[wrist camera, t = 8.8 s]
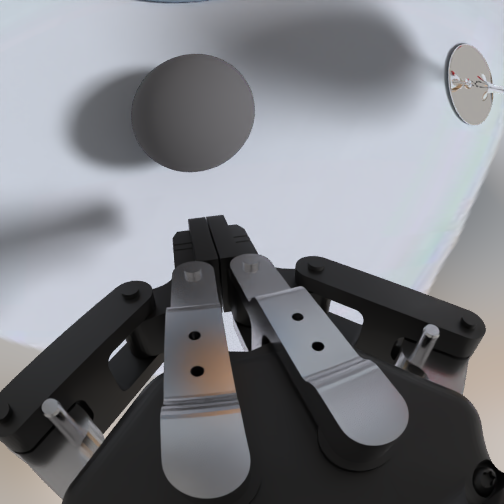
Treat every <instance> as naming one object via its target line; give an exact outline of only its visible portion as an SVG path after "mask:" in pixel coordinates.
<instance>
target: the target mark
mask: <svg viewBox="0 0 504 504" xmlns="http://www.w3.org/2000/svg"><path fill="white" fill-rule="evenodd" d="M147 1H154V2H170V3H172V2H196V1H207V0H147Z"/></svg>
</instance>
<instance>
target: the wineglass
mask: <svg viewBox="0 0 504 504" xmlns="http://www.w3.org/2000/svg"><path fill="white" fill-rule="evenodd" d="M448 86H449V91H450V96H451V99H452V103H453V105H454V107H455V110H456V112H457V113H458V115H459V116H460V117H461V119H462V120H463V121H464V122H466V123H467V124H470V125H479V124H481V123H482V122H483V121H485V119H486V118H487V116H488V114H489V112H490V110H491V107H492V102H493V93H498V94H503V95H504V87H503V86H498V85H494V84H493V81H492V76H491V72H490V69H489V67H488V64H487V62H486V60H485V58H484V57H483V55H482V54H481V53H480V52H479V51H478V50H477V49H476V48H475V47H473V46H471V45H468V44H462V45H460V46H458V47H457V48H456V49H455V50H454V51H453V53H452V55H451V58H450V61H449V66H448Z"/></svg>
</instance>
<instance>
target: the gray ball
mask: <svg viewBox="0 0 504 504" xmlns="http://www.w3.org/2000/svg"><path fill="white" fill-rule="evenodd" d="M254 116H255V106H254V99H253V95H252V91H251V89H250V87H249V85H248V83H247V82H246V80H245V78H244V77H243V76H242V74H241V73H240V72H239V71H238V70H237V69H236V68H234V67H233V66H232V65H230V64H229V63H227V62H225V61H224V60H221V59H219V58H217V57H213V56H210V55H203V54H189V55H182V56H178V57H175V58H172V59H170V60H167V61H166V62H164V63H162V64H160V65H159V66H157V67H156V68H155V69H153V70H152V71H151V72H150V73H149V74H148V75H147V76H146V78H145V79H144V80H143V81H142V83H141V85H140V86H139V88H138V90H137V92H136V95H135V97H134V100H133V104H132V113H131V118H132V127H133V131H134V134H135V137H136V139H137V141H138V143H139V145H140V146H141V148H142V149H143V150H144V151H145V153H146V154H147V155H148V156H149V157H150V158H152V159H153V160H154V161H155V162H157V163H159V164H161V165H162V166H164V167H167V168H169V169H172V170H176V171H181V172H198V171H204V170H208V169H211V168H214V167H217V166H219V165H221V164H223V163H224V162H226V161H227V160H229V159H230V158H231V157H233V156H234V155H235V154H236V153H237V152H238V151H239V150H240V149H241V147H242V146H243V145H244V143H245V142H246V140H247V138H248V137H249V134H250V132H251V129H252V126H253V122H254Z"/></svg>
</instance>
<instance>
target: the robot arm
mask: <svg viewBox="0 0 504 504" xmlns="http://www.w3.org/2000/svg"><path fill="white" fill-rule="evenodd" d="M188 224H189V230H188V231H181V232H177V233H176V234H175V236H174V237H173V250H174V263H175V269H174V271H173V273H172V279H171V280H170V281H169V282H168V283H166V284H165V285H163V286H160V287H158V288H155V289H152V287H151V286H150V285H149V284H148V283H146V282H143V281H130V282H126V283H124V284H121V285H120V286H118V287H117V288H115V289H114V290H113V291H112V292H111V293H109V294H108V295H107V296H106V297H105V298H103V299H102V300H101V301H100V302H99V303H97V304H96V305H95V306H94V307H93V308H91V309H90V310H89V311H88V312H87V313H86V314H84V315H83V316H82V317H81V318H80V319H79V320H78V321H76V322H75V323H74V324H73V325H72V326H71V327H69V328H68V329H67V330H66V331H65V332H64V333H63V334H62V335H60V336H59V337H58V338H57V339H56V340H55V341H54V342H53V343H52V344H50V345H49V346H48V347H47V348H46V349H45V350H44V351H43V352H42V353H41V354H40V355H38V356H37V357H36V358H35V359H34V360H33V361H32V362H31V363H30V364H29V365H28V366H27V367H26V368H24V369H23V370H22V371H21V372H20V373H19V374H18V375H17V376H16V377H15V378H14V379H13V380H12V381H11V382H10V383H9V384H8V385H7V386H6V387H5V388H4V389H3V390H2V391H1V392H0V441H1V442H3V443H4V444H5V445H6V446H7V447H8V449H9V450H10V451H12V452H13V453H14V454H15V455H16V456H18V457H19V458H20V459H22V460H23V461H24V462H26V463H27V464H28V465H29V466H30V467H31V468H32V469H33V470H34V472H35V473H36V474H37V475H38V476H39V477H40V478H41V479H42V480H43V481H44V482H45V483H46V484H47V485H48V486H49V487H50V488H51V489H52V490H53V491H54V492H55V493H56V494H57V495H58V496H59V497H60V498H62V499H63V502H62V504H504V473H503V472H501V471H499V470H498V469H497V468H496V467H495V466H494V464H493V463H492V461H491V459H490V457H489V454H488V452H487V449H486V445H485V442H484V437H483V431H482V425H481V420H480V417H479V414H478V412H477V410H476V409H475V407H474V406H473V404H472V403H471V402H470V401H469V400H468V399H467V398H466V397H465V396H463V390H464V385H465V380H466V373H467V367H468V361H469V359H470V357H471V356H472V354H473V353H474V351H475V349H476V348H477V346H478V344H479V343H480V341H481V339H482V337H483V336H484V334H485V331H486V328H485V324H484V322H483V321H482V319H481V318H480V317H479V316H478V315H476V314H475V313H473V312H471V311H469V310H466V309H463V308H461V307H458V306H456V305H453V304H450V303H448V302H445V301H442V300H439V299H437V298H434V297H432V296H429V295H426V294H423V293H421V292H418V291H415V290H413V289H410V288H407V287H404V286H402V285H399V284H396V283H393V282H391V281H388V280H385V279H382V278H379V277H377V276H374V275H371V274H368V273H365V272H363V271H360V270H357V269H354V268H351V267H349V266H346V265H343V264H340V263H337V262H334V261H331V260H329V259H326V258H323V257H318V256H308V257H304V258H301V259H300V260H298V261H297V263H296V267H295V269H282V268H275V267H274V265H273V264H272V263H271V261H270V260H269V259H268V258H267V257H265V256H262V255H259V254H258V253H257V251H256V249H255V247H254V246H253V244H252V242H251V241H250V238H249V237H248V235H247V233H246V231H245V229H243V228H242V227H240V226H238V225H237V224H236V225H228V224H227V222H226V220H225V218H224V216H223V215H218V216H210V217H206V219H205V217H202V218H194V219H188ZM331 300H333V301H335V302H338V303H340V304H343V305H345V306H348V307H350V308H353V309H355V310H357V311H359V312H360V313H361V314H362V316H363V319H364V321H363V325H360V324H358V323H355V322H353V321H350V320H348V319H345V318H343V317H340V316H338V315H336V314H333V313H331V312H329V307H330V302H331ZM222 306H223V310H224V312H230V311H232V314H233V326H234V329H235V331H236V334H237V336H238V338H239V340H240V343H241V345H242V347H243V349H244V352H230V351H228V346H227V341H226V335H225V329H224V323H223V317H222ZM125 339H126V341H127V343H126V344H125V345H124V346H123V347H122V348H121V349H120V350H119V351H118V353H117V354H116V355H115V356H114V357H113V358H112V359H111V360H110V361H109V362H108V360H109V357H110V355H111V353H112V352H113V351H114V350H115V349H116V348H117V347H118V346H119V345H120V344H121V343H122V342H123V341H124V340H125ZM163 362H164V373H162V374H161V375H159V376H157V377H156V378H155V379H153V380H152V381H151V382H150V383H149V384H148V385H147V386H146V387H145V388H144V389H143V391H142V392H141V393H140V394H139V396H138V397H137V398H136V400H135V401H134V402H133V403H132V405H131V406H130V407H129V409H128V410H127V411H126V413H125V414H124V415H123V417H122V418H121V419H120V420H119V422H118V423H117V424H116V426H115V427H114V428H113V429H112V431H111V432H110V433H109V435H108V436H107V437H106V439H105V440H104V436H103V434H104V433H105V431H106V430H107V429H108V428H109V427H110V425H111V424H112V423H113V422H114V421H115V419H116V418H117V417H118V416H119V414H120V413H121V412H122V411H123V410H124V409H125V407H126V406H127V405H128V404H129V403H130V401H131V400H132V399H133V398H134V397H135V396H136V394H137V393H138V392H139V391H140V390H141V388H142V387H143V386H144V385H145V383H146V382H147V381H148V380H149V379H150V378H151V376H152V375H153V374H154V373H155V372H156V370H157V369H158V368H159V367H160V366H161V364H162V363H163Z"/></svg>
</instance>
